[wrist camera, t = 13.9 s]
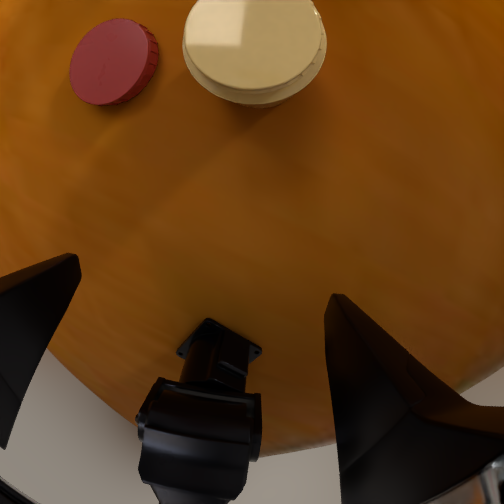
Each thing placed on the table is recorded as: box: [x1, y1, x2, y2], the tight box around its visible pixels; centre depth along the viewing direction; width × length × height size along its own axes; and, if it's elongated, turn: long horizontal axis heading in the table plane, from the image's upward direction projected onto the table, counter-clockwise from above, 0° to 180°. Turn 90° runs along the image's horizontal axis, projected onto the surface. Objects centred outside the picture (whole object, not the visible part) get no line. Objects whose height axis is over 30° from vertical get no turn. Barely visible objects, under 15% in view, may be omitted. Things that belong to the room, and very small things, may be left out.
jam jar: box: [182, 0, 327, 108], centre depth 12 cm, size 6×6×9 cm
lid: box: [70, 19, 159, 106], centre depth 14 cm, size 7×7×2 cm
